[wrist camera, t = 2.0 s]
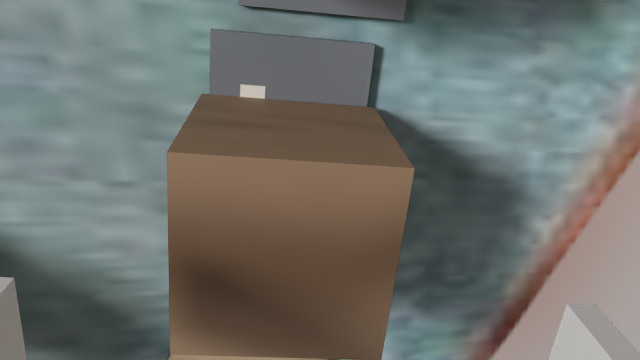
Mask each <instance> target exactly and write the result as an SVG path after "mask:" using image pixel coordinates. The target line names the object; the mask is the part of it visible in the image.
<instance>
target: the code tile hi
mask: <svg viewBox="0 0 640 360" xmlns="http://www.w3.org/2000/svg"><path fill="white" fill-rule="evenodd" d="M406 4H407V0H238V5H244V6H254V7H265V8H275V9H286V10H296V11H307V12H317V13H328V14H338V15H349V16H359V17H370V18H380V19H391V20H401V21H404V17H405V10H406Z"/></svg>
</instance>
